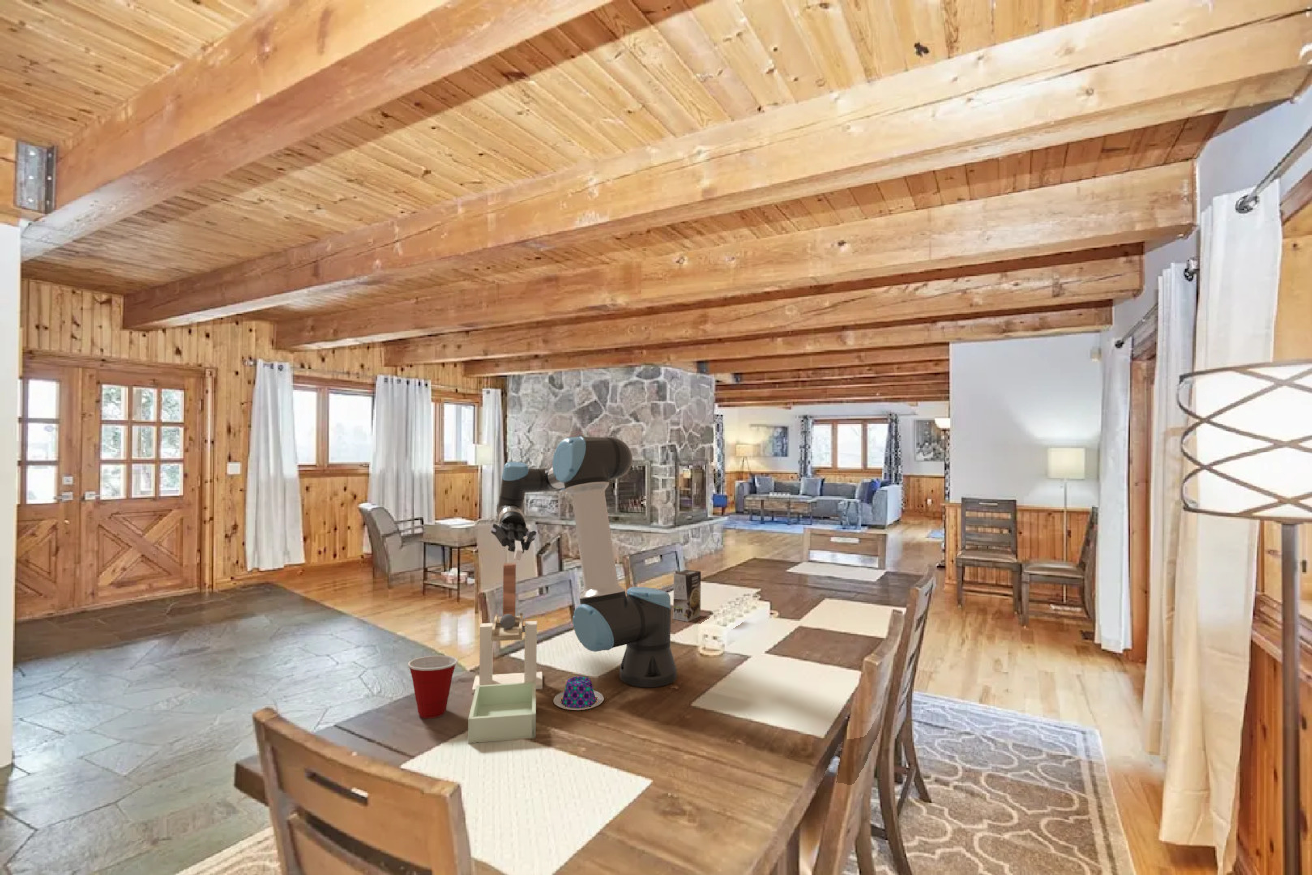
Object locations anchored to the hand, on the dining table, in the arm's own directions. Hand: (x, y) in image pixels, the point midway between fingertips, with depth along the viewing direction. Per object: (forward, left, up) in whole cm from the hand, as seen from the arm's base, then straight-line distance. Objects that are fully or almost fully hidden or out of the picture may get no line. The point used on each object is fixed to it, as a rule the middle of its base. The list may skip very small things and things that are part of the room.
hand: (518, 555), depth 164 cm
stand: (-2, +5, -32) cm, 32 cm away
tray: (-17, +20, -32) cm, 42 cm away
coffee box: (-8, -73, -32) cm, 80 cm away
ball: (-7, +10, -14) cm, 19 cm away
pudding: (-23, +2, -32) cm, 40 cm away
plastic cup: (0, +26, -32) cm, 42 cm away
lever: (-5, +8, -17) cm, 19 cm away
